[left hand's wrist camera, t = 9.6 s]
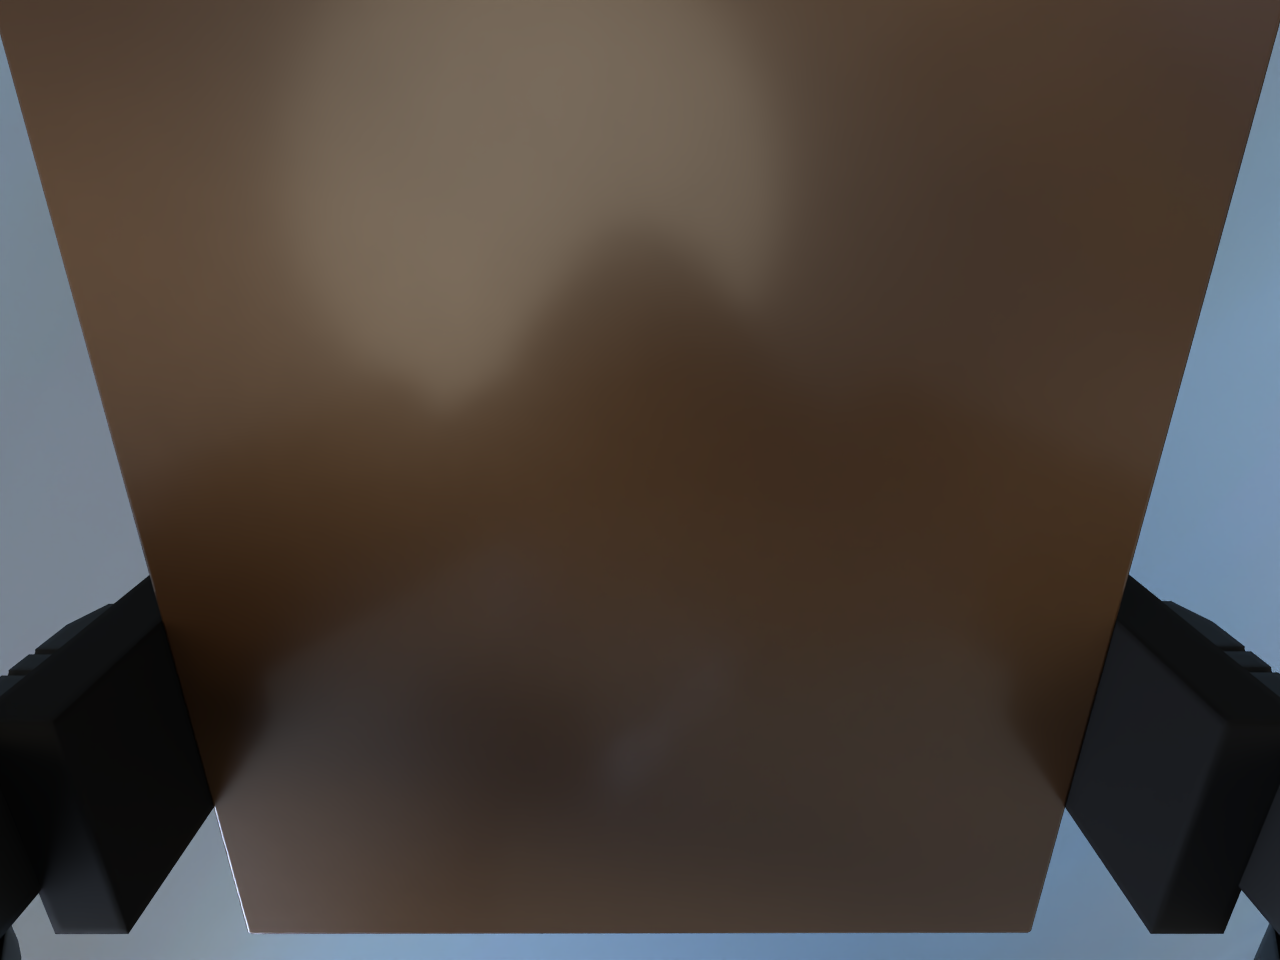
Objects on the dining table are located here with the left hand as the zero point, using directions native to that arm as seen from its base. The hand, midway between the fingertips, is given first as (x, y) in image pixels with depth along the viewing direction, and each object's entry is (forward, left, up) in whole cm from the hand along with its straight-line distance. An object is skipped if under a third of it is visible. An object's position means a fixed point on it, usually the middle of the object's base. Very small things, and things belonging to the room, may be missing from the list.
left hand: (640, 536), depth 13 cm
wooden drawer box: (+7, -2, -6) cm, 9 cm away
